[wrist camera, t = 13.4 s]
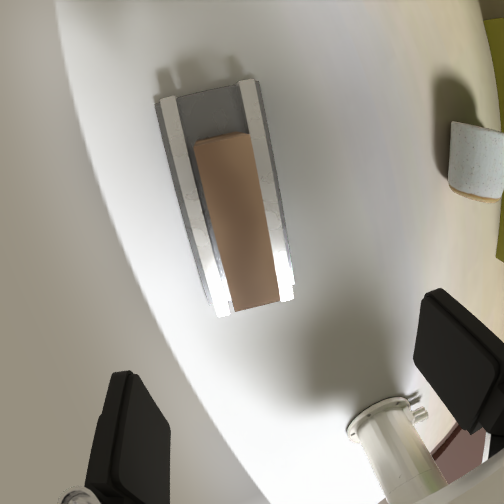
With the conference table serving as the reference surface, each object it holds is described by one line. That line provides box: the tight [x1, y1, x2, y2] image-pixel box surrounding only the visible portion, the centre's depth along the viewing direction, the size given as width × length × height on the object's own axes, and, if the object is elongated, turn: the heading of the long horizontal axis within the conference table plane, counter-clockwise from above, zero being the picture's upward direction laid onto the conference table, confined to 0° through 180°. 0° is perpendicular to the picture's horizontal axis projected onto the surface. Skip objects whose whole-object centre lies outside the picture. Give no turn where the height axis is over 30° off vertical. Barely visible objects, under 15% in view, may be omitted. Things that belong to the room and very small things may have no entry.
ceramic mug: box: [448, 121, 504, 203], centre depth 27 cm, size 11×8×8 cm
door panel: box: [193, 132, 281, 312], centre depth 24 cm, size 4×12×8 cm, turn 11°
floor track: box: [155, 78, 295, 317], centre depth 27 cm, size 9×20×4 cm, turn 11°
